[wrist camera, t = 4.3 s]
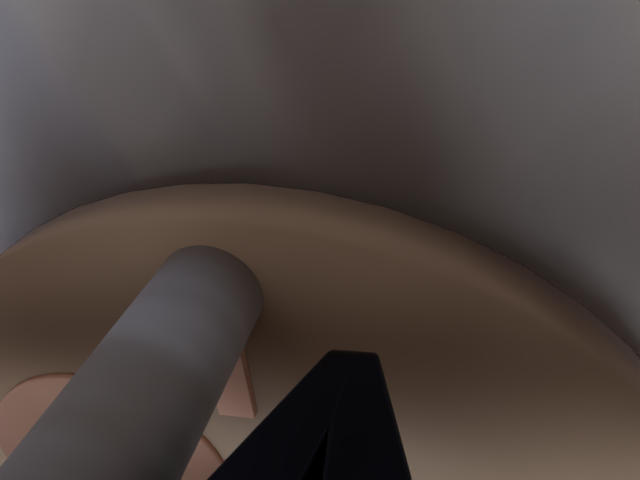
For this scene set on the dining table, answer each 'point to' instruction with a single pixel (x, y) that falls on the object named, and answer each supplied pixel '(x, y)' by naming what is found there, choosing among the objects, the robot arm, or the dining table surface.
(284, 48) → the dining table surface
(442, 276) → the turntable
